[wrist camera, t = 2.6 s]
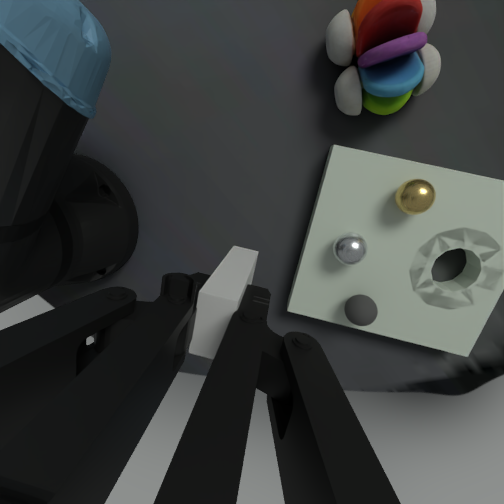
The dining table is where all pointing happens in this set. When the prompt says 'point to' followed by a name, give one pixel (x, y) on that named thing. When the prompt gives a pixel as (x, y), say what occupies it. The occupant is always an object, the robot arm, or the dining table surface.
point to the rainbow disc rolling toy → (383, 54)
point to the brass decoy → (415, 196)
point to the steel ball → (350, 248)
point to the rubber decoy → (361, 310)
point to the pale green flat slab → (403, 250)
